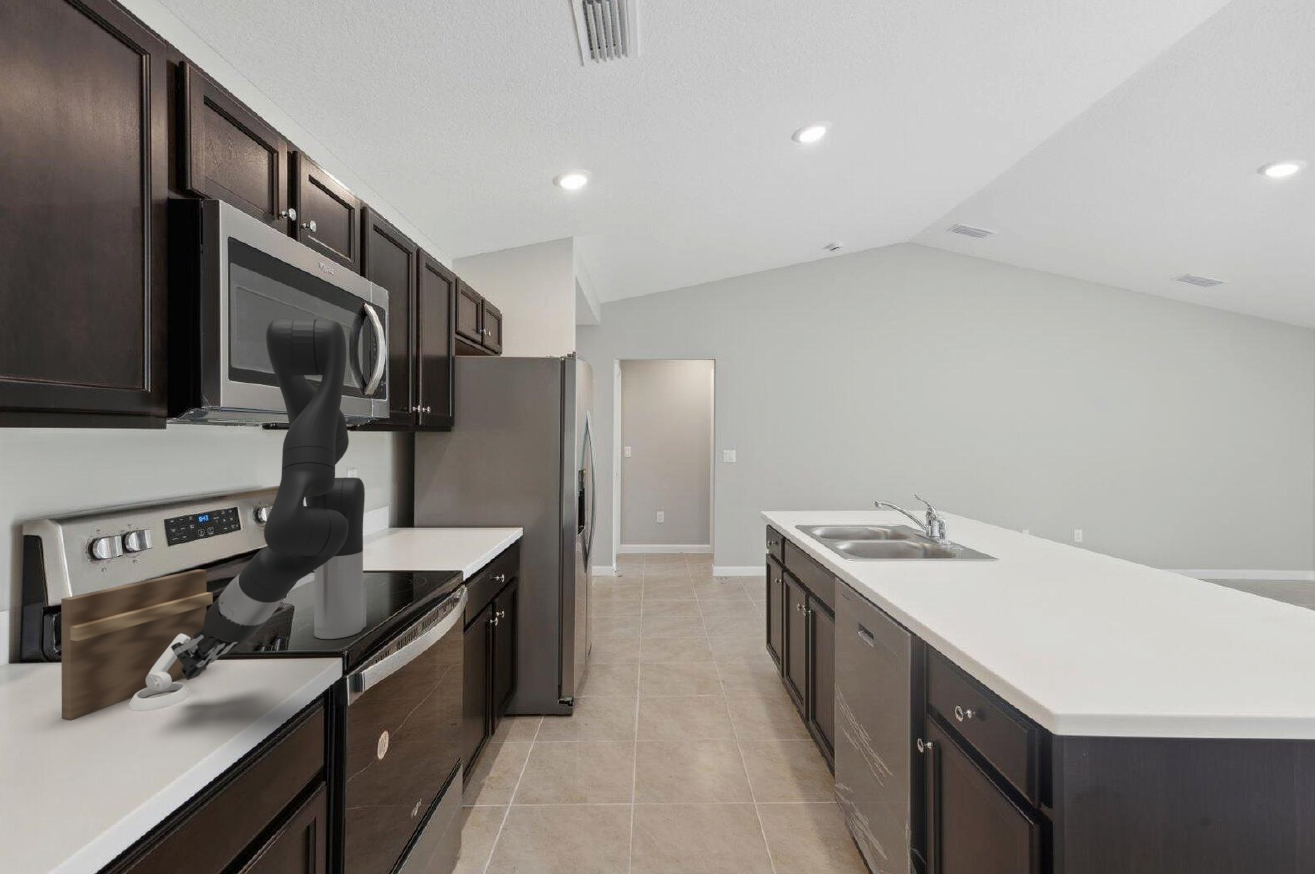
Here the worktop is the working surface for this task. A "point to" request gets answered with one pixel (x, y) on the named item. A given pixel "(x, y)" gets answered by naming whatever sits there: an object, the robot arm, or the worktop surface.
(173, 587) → the wall board
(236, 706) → the worktop surface
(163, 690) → the white lever switch
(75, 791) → the worktop surface
